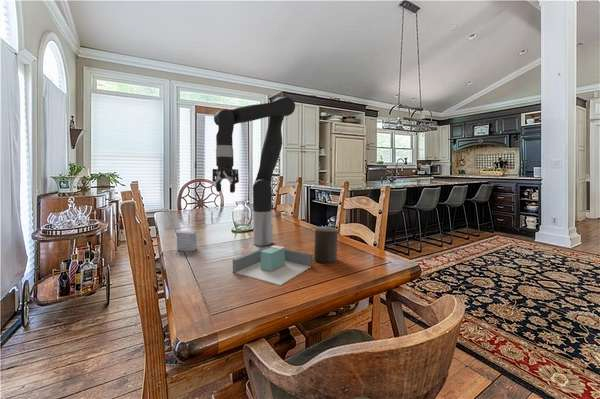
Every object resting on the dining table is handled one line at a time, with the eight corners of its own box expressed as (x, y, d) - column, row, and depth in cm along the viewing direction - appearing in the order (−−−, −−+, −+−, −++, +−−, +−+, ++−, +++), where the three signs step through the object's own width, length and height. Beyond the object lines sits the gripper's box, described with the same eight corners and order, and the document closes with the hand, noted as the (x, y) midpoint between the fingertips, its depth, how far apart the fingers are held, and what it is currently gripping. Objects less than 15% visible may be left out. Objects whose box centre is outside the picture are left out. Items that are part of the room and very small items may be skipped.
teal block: (260, 268, 108) (260, 250, 107) (274, 262, 116) (274, 245, 115) (270, 271, 105) (270, 252, 104) (284, 264, 113) (284, 247, 112)
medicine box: (197, 248, 135) (196, 231, 134) (193, 251, 131) (192, 233, 130) (181, 248, 136) (181, 230, 135) (176, 251, 132) (176, 232, 131)
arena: (269, 256, 124) (268, 245, 124) (312, 266, 113) (312, 254, 112) (232, 272, 106) (232, 259, 105) (280, 285, 94) (280, 271, 93)
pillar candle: (321, 265, 114) (323, 229, 112) (310, 258, 123) (311, 224, 121) (341, 261, 119) (342, 227, 117) (328, 255, 127) (329, 222, 125)
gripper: (207, 155, 126) (208, 191, 128) (230, 155, 119) (230, 193, 121) (219, 156, 132) (220, 190, 134) (242, 156, 125) (243, 192, 127)
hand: (225, 192), depth 127 cm, fingers open, 8 cm apart
